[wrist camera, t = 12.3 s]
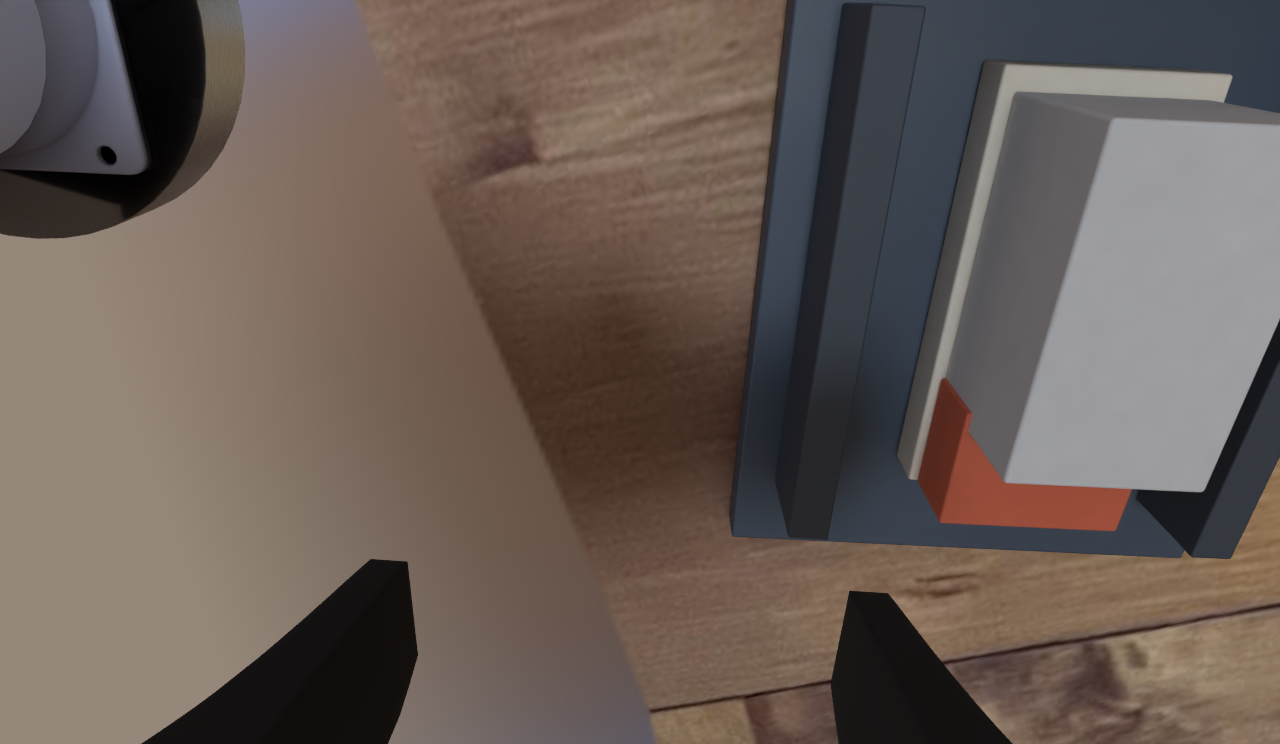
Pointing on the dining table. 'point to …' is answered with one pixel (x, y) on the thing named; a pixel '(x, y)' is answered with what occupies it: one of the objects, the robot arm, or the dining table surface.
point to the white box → (1094, 294)
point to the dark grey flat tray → (910, 255)
